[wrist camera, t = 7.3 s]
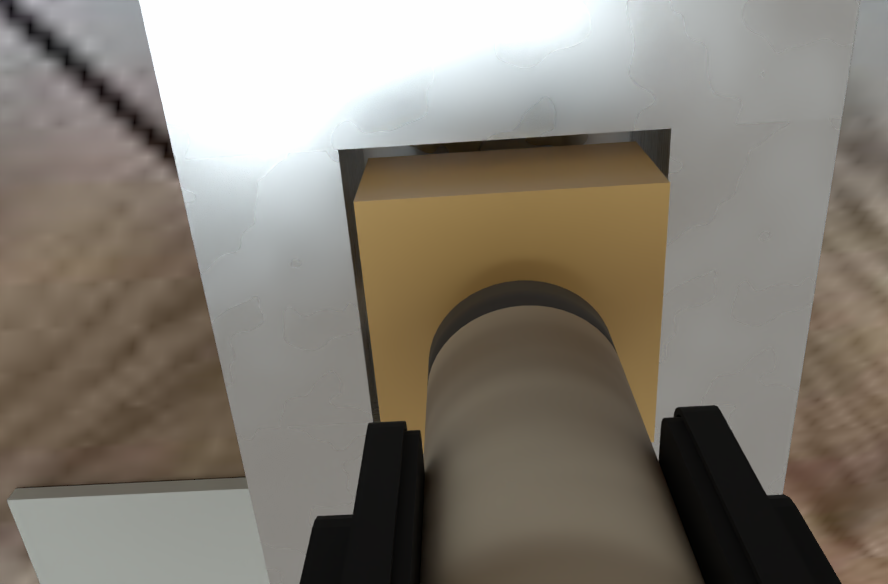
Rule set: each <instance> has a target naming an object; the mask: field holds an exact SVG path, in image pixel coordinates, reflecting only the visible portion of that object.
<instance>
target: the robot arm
mask: <svg viewBox="0 0 888 584" xmlns="http://www.w3.org/2000/svg"><path fill="white" fill-rule="evenodd" d="M659 464H660V467H661V469H662V472H663V474H664V477H665V480H666V482H667V485H668V488H669V490H670V493H671V495H672V498H673V501H674V503H675V506H676V508H677V511H678V514H679V516H680V519H681V522H682V524H683V527H684V529H685V532H686V535H687V537H688V540H689V543H690V545H691V548H692V550H693V553H694V556H695V558H696V561H697V563H698V566H699V569H700V571H701V574H702V577H703V579H704V582H705V584H841V582H840V580H839V578H838V577H837V575H836V573H835V572H834V570H833V568H832V566H831V565H830V563H829V561H828V560H827V558H826V556H825V555H824V553H823V551H822V549H821V548H820V546H819V544H818V543H817V541H816V539H815V537H814V536H813V534H812V532H811V531H810V529H809V527H808V526H807V524H806V522H805V520H804V519H803V517H802V515H801V514H800V512H799V510H798V508H797V507H796V505H795V504H794V503H793V501H792V500H791V499H790V498H789V497H788V496H786V495H784V494H782V495H767V494H766V493H765V491H764V489H763V487H762V485H761V483H760V482H759V480H758V478H757V476H756V474H755V472H754V471H753V469H752V467H751V465H750V463H749V461H748V460H747V458H746V456H745V454H744V452H743V451H742V449H741V447H740V445H739V443H738V441H737V440H736V438H735V436H734V434H733V432H732V430H731V429H730V427H729V425H728V423H727V421H726V419H725V418H724V416H723V414H722V412H721V410H720V409H719V408H718V406H715V405H708V406H688V407H677V408H676V409H675V412H674V416H673V417H668V418H663V419H662V422H661V431H660V446H659ZM424 482H425V468H424V458H423V448H422V438H421V431H420V430H409V431H407V424H406V421H391V422H371V423H368V426H367V431H366V437H365V443H364V449H363V455H362V461H361V467H360V473H359V479H358V485H357V491H356V498H355V504H354V510H353V514H349V515H327V516H317V517H316V519H315V520H314V524H313V527H312V531H311V535H310V539H309V544H308V548H307V553H306V557H305V561H304V566H303V570H302V575H301V579H300V583H299V584H420V566H421V545H422V524H423V503H424Z"/></svg>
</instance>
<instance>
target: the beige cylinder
mask: <svg viewBox="0 0 888 584" xmlns="http://www.w3.org/2000/svg"><path fill="white" fill-rule="evenodd" d="M424 468H425V482H424V503H423V524H422V545H421V566H420V584H705V582H704V579H703V577H702V574H701V571H700V569H699V566H698V563H697V561H696V558H695V556H694V553H693V550H692V548H691V545H690V543H689V540H688V537H687V535H686V532H685V529H684V527H683V524H682V522H681V519H680V516H679V514H678V511H677V508H676V506H675V503H674V501H673V498H672V495H671V493H670V490H669V488H668V485H667V482H666V480H665V477H664V474H663V472H662V469H661V467H660V464H659V461H658V459H657V456H656V453H655V451H654V448H653V446H652V443H651V440H650V438H649V435H648V433H647V430H646V427H645V425H644V422H643V419H642V417H641V414H640V412H639V409H638V406H637V404H636V401H635V399H634V396H633V393H632V391H631V388H630V385H629V383H628V380H627V378H626V375H625V372H624V370H623V367H622V364H621V362H620V359H619V357H618V354H617V351H616V349H615V346H614V344H613V341H612V338H611V336H610V333H609V330H608V328H607V326H606V324H605V323H604V321H603V319H602V318H601V316H600V315H599V314H598V312H597V311H596V310H595V309H594V308H593V307H592V306H591V305H590V304H589V303H588V302H587V301H585V300H584V299H583V298H581V297H580V296H579V295H577V294H575V293H573V292H571V291H570V290H568V289H565V288H563V287H560V286H557V285H554V284H550V283H546V282H540V281H532V280H518V281H510V282H504V283H499V284H495V285H492V286H489V287H486V288H484V289H481V290H479V291H477V292H475V293H473V294H471V295H470V296H468V297H467V298H465V299H464V300H462V301H461V302H460V303H459V304H457V305H456V306H455V307H454V308H453V309H452V310H451V311H450V312H449V313H448V314H447V316H446V317H445V318H444V319H443V321H442V322H441V324H440V325H439V327H438V329H437V331H436V333H435V335H434V337H433V340H432V344H431V347H430V353H429V364H428V383H427V402H426V421H425V441H424Z"/></svg>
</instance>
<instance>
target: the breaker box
mask: <svg viewBox="0 0 888 584" xmlns="http://www.w3.org/2000/svg"><path fill="white" fill-rule="evenodd" d="M139 2H140V7H141V11H142V15H143V20H144V24H145V29H146V33H147V38H148V42H149V47H150V51H151V56H152V60H153V65H154V69H155V73H156V78H157V82H158V87H159V91H160V96H161V100H162V105H163V109H164V114H165V118H166V123H167V127H168V132H169V136H170V140H171V145H172V149H173V154H174V158H175V163H176V167H177V172H178V176H179V181H180V185H181V190H182V194H183V198H184V203H185V207H186V212H187V216H188V221H189V225H190V230H191V234H192V239H193V243H194V248H195V252H196V256H197V261H198V265H199V270H200V274H201V279H202V283H203V288H204V292H205V297H206V301H207V306H208V310H209V314H210V319H211V323H212V328H213V332H214V337H215V341H216V346H217V350H218V355H219V359H220V364H221V368H222V372H223V377H224V381H225V386H226V390H227V395H228V399H229V404H230V408H231V413H232V417H233V422H234V426H235V431H236V435H237V439H238V444H239V448H240V453H241V457H242V462H243V466H244V471H245V475H246V480H247V484H248V489H249V493H250V497H251V502H252V506H253V511H254V515H255V520H256V524H257V529H258V533H259V538H260V542H261V547H262V551H263V555H264V560H265V564H266V569H267V573H268V578H269V582H270V584H299V583H300V579H301V575H302V570H303V566H304V561H305V557H306V553H307V548H308V544H309V539H310V535H311V531H312V527H313V524H314V520H315V519H316V517H317V516H327V515H349V514H353V510H354V504H355V498H356V491H357V485H358V479H359V473H360V467H361V461H362V455H363V449H364V443H365V437H366V431H367V426H368V423H371V422H381V421H380V413H379V405H378V397H377V389H376V381H375V372H374V364H373V356H372V348H371V340H370V332H369V324H368V316H367V308H366V300H365V292H364V284H363V276H362V268H361V259H360V251H359V243H358V235H357V227H356V219H355V211H354V203H353V202H354V199H355V196H356V193H357V190H358V187H359V184H360V181H361V178H362V175H363V172H364V170H365V167H366V164H367V161H368V158H379V157H394V156H410V155H426V154H442V153H458V152H473V151H489V150H505V149H521V148H537V147H552V146H568V145H584V144H600V143H616V142H631V141H636V142H637V143H638V144H639V146H640V147H641V148H642V149H643V150H644V152H645V153H646V154H647V155H648V156H649V158H650V159H651V160H652V161H653V162H654V164H655V165H656V166H657V167H658V168H659V170H660V171H661V172H662V173H663V174H664V176H665V177H666V178H667V179H668V180H669V182H670V196H669V211H668V227H667V243H666V259H665V275H664V290H663V306H662V322H661V338H660V354H659V370H658V385H657V401H656V417H655V433H654V442H651V443H652V446H653V448H654V451H655V453H656V456H657V459H658V461H659V446H660V431H661V422H662V419H663V418H668V417H673V416H674V412H675V409H676V408H677V407H688V406H708V405H715V406H718V408H719V409H720V410H721V412H722V414H723V416H724V418H725V419H726V421H727V423H728V425H729V427H730V429H731V430H732V432H733V434H734V436H735V438H736V440H737V441H738V443H739V445H740V447H741V449H742V451H743V452H744V454H745V456H746V458H747V460H748V461H749V463H750V465H751V467H752V469H753V471H754V472H755V474H756V476H757V478H758V480H759V482H760V483H761V485H762V487H763V489H764V491H765V493H766V494H767V495H782V494H783V488H784V482H785V476H786V469H787V463H788V457H789V450H790V444H791V438H792V431H793V425H794V419H795V412H796V406H797V400H798V393H799V387H800V381H801V374H802V368H803V362H804V355H805V349H806V343H807V336H808V330H809V324H810V317H811V311H812V305H813V298H814V292H815V285H816V279H817V273H818V266H819V260H820V254H821V247H822V241H823V235H824V228H825V222H826V216H827V209H828V203H829V197H830V190H831V184H832V178H833V171H834V165H835V159H836V152H837V146H838V140H839V133H840V127H841V121H842V114H843V108H844V102H845V95H846V89H847V83H848V76H849V70H850V64H851V57H852V51H853V45H854V38H855V32H856V26H857V19H858V13H859V7H860V0H139ZM423 458H424V454H423Z"/></svg>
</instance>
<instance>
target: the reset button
mask: <svg viewBox="0 0 888 584" xmlns="http://www.w3.org/2000/svg"><path fill="white" fill-rule="evenodd" d="M669 196H670V182H669V180H668V179H667V178H666V177H665V176H664V174H663V173H662V172H661V171H660V170H659V168H658V167H657V166H656V165H655V164H654V162H653V161H652V160H651V159H650V158H649V156H648V155H647V154H646V153H645V152H644V150H643V149H642V148H641V147H640V146H639V144H638V143H637V142H636V141H631V142H616V143H600V144H584V145H568V146H552V147H537V148H521V149H505V150H489V151H473V152H458V153H442V154H426V155H410V156H394V157H379V158H368V161H367V164H366V167H365V170H364V172H363V175H362V178H361V181H360V184H359V187H358V190H357V193H356V196H355V199H354V202H353V203H354V211H355V219H356V227H357V235H358V243H359V251H360V259H361V268H362V276H363V284H364V292H365V300H366V308H367V316H368V324H369V332H370V340H371V348H372V356H373V364H374V372H375V381H376V389H377V397H378V405H379V413H380V421H381V422H391V421H406V424H407V431H409V430H420V431H421V438H422V448H423V454H424V441H425V421H426V402H427V383H428V364H429V353H430V347H431V344H432V340H433V337H434V335H435V333H436V331H437V329H438V327H439V325H440V324H441V322H442V321H443V319H444V318H445V317H446V316H447V314H448V313H449V312H450V311H451V310H452V309H453V308H454V307H455V306H456V305H457V304H459V303H460V302H461V301H462V300H464V299H465V298H467V297H468V296H470V295H471V294H473V293H475V292H477V291H479V290H481V289H484V288H486V287H489V286H492V285H495V284H499V283H504V282H510V281H518V280H532V281H540V282H546V283H550V284H554V285H557V286H560V287H563V288H565V289H568V290H570V291H571V292H573V293H575V294H577V295H579V296H580V297H581V298H583V299H584V300H585V301H587V302H588V303H589V304H590V305H591V306H592V307H593V308H594V309H595V310H596V311H597V312H598V314H599V315H600V316H601V318H602V319H603V321H604V323H605V324H606V326H607V328H608V330H609V333H610V336H611V338H612V341H613V344H614V346H615V349H616V351H617V354H618V357H619V359H620V362H621V364H622V367H623V370H624V372H625V375H626V378H627V380H628V383H629V385H630V388H631V391H632V393H633V396H634V399H635V401H636V404H637V406H638V409H639V412H640V414H641V417H642V419H643V422H644V425H645V427H646V430H647V433H648V435H649V438H650V440H651V442H654V433H655V417H656V401H657V385H658V370H659V354H660V338H661V322H662V306H663V290H664V275H665V259H666V243H667V227H668V211H669Z"/></svg>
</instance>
